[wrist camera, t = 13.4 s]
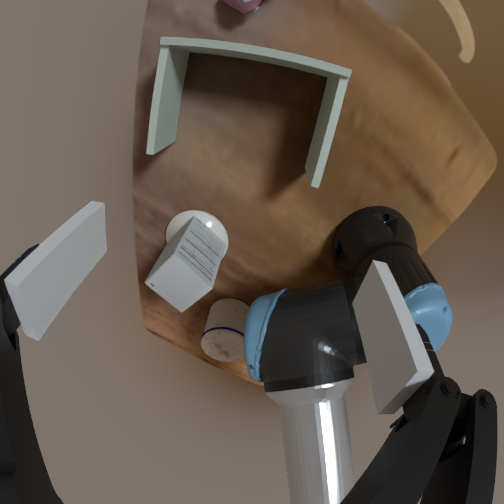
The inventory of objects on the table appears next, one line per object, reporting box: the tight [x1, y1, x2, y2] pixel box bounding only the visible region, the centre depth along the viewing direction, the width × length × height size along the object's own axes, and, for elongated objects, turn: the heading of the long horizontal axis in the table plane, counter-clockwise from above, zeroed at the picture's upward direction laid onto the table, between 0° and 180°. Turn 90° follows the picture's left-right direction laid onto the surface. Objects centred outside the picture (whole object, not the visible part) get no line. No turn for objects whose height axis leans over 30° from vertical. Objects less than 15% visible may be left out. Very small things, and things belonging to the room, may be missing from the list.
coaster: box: [166, 210, 229, 259], centre depth 51 cm, size 11×11×1 cm
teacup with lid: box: [201, 298, 250, 362], centre depth 55 cm, size 12×9×12 cm
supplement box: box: [145, 215, 225, 312], centre depth 46 cm, size 7×7×13 cm
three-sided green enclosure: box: [146, 37, 352, 188], centre depth 35 cm, size 15×22×10 cm
